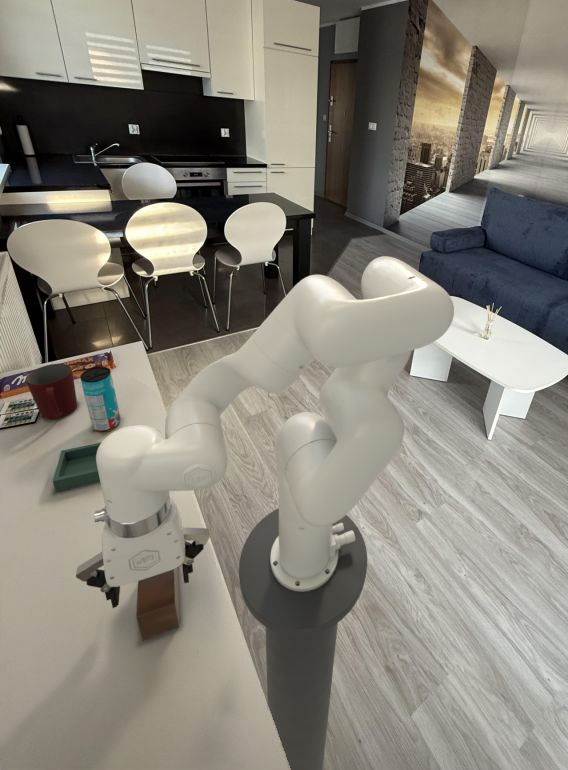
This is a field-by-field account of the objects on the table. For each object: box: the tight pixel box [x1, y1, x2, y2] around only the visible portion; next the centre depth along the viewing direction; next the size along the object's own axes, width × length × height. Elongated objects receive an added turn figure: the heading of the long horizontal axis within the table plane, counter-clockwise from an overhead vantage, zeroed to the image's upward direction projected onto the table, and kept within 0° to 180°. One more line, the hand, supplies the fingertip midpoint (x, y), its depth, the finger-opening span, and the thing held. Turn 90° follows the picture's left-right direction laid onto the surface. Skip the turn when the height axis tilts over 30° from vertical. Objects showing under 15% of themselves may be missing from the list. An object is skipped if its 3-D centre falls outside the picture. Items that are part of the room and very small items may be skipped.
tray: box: [51, 441, 102, 493], centre depth 85 cm, size 14×9×3 cm, turn 114°
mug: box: [25, 363, 78, 421], centre depth 97 cm, size 12×9×11 cm
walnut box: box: [135, 567, 180, 642], centre depth 62 cm, size 10×5×6 cm, turn 24°
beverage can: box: [79, 366, 121, 433], centre depth 94 cm, size 6×6×15 cm
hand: (152, 585), depth 61 cm, fingers open, 9 cm apart
